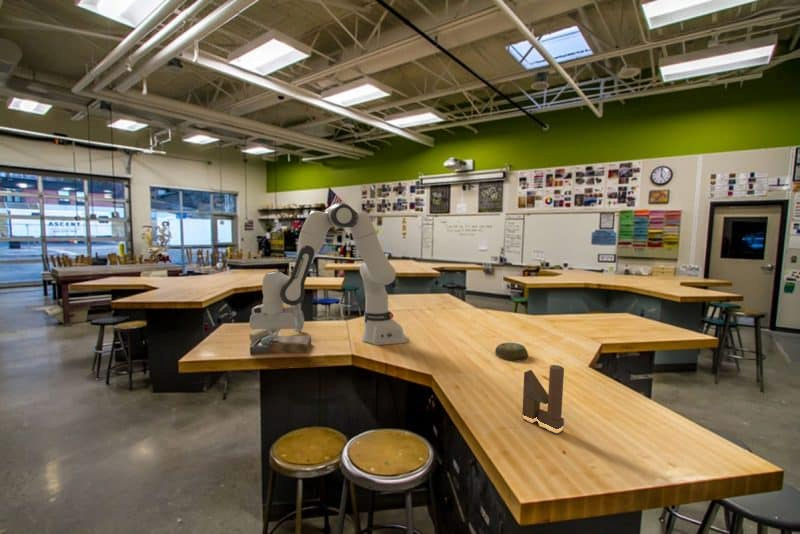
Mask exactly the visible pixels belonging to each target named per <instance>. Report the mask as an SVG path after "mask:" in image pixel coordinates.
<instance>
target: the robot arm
mask: <svg viewBox="0 0 800 534" xmlns="http://www.w3.org/2000/svg"><path fill="white" fill-rule="evenodd" d="M331 228H338V229H340V228H343V229H345V228H348V229H349V231H350V232H351V236H352V239H353V241H354V245H355V248H356V250H357V253H358V255H359V257H361V259H362V260H363V263H362V264H361V265H360V266H359V274H360V276H361V278H362V283H363V289H364V296H365V310H364V315H363V316H364V319H363V320H364V330H363V335H362V339H361V340H362V342H365V343H368V344H372V345H375V346H381V345H382V346H383V345H384V346H385V345H394V344H396V345H397V344H406V343H407V342H408V341H409V339H408V336H407V334H406V333H404V330H403V327H402V325H401V324H400V323H399V322H397V321H396V320H394V319H393V318H394V313H393V312H392V311H389V295H388V292H387V291H386V287H385V286H387V285H390V284H391V283H393V282H394V281H395V279H396V273H397V272H396V269H395V268H394V266H393V265H392V264H391V263H390V261H389V260H388V257H387V256H386V254H385V252H384V251H383V248H382V246H381V244H380V241H379V238H378V235H377V232H376V229H375V226H374V223H373V221H372V220H371V218H370V216H369V215H368V213H367V212H365V211H356V210H355V209H353V207H351V206H350V205H348V203H341V202H337V203H333V204H331V205H329V206H328V207H327V208H326V209H325V210H323V211H320V210H312V211H311V212H310V213H308V215H307V217H306V218H305V220H304V223H303V225H302V226H301V229H300V232H299V236H298V240H297V252H296V260H295V264H294V267H293V269H292V271H291V275H290V276H288V275H286V274H284V273H283V272H282V271H270V272H268V273H266V274H265V275H264V276H263V277H262V291H261V293H262V295H263V296H262V297H263V298H262V304H258V305H256V306H254V307H252V308H251V314H250V316H249V328H250V330H261V329H267V331H268V333H269V334H270V338H277V337H278V336H279V335H278V334H279V332H280V331H281V330H282V329H284V330H287V329H288V330H290V329H291V330H295V328H296V326H297V319H296V317H297V310H296V309H294V308H292V307H285V306H284V304H285V305H287V306H291V305H297V304H299V303H301V304H302V302H303V301H304V299H305V296H306V295H305V294H306V291H305V284H306V283H305V282H306V279H307V277H308V274H309V272H310V271H309V270H310V268H311V265H312V264H313V261H314V259H315V258H317V256H318V254H319V252H320V250H321V249H322V247H323V245H324V243H325V239H326V236H327V234H328V231H329V230H330V229H331ZM272 329H276V331H277V332H275V333H274V334H272V332H271V330H272Z"/></svg>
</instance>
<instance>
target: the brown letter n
mask: <svg viewBox="0 0 800 534" xmlns="http://www.w3.org/2000/svg"><path fill="white" fill-rule="evenodd" d="M564 374H565V368H564V367H563V366H562V365H559V364H551V365H550V366H549V375H548V393H547V391H546V389H545V387H544V386H543V385H542V383H541V382H540V381H539V379H538V378H537V376H536V375H535V373H534V372H533V369H529V370H526V371H524V372H523V391H522V392H523V395H522V396H523V398H522V415H524V416H527V417H529V418H532V419H534V418H536V417H537V419H538V420H539V421H540V422H542V423H544V424H547V425H549V426H551V427H553V428H555V429H559V428H561V427H562V426H564V425H565V424H564V423H565V419H564V418H563V417H562V413H563V412H562V410H563V395H564ZM541 404H543V405H547V410H544V409H542V408H541ZM522 415H521V416H522ZM564 427H565V426H564Z"/></svg>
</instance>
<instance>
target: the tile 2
mask: <svg viewBox="0 0 800 534" xmlns="http://www.w3.org/2000/svg"><path fill="white" fill-rule="evenodd" d="M272 339H273V338H270V335H269V336H267V337H265V338H263V339H262V340H261V341H260V342H261V344H262V345H264V344H266V343H268V342H270V341H271V340H272Z"/></svg>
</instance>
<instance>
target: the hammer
mask: <svg viewBox="0 0 800 534" xmlns="http://www.w3.org/2000/svg"><path fill="white" fill-rule="evenodd" d="M290 308H294V309H296V310H297V317H296V319H297V326H296V327H295V328H294V329H293V332H295V331H296V333H301V332H302V330H303V328H304V326H305V315H304V312H303V310H302V309H301V308H302V302H301V303H299V304H297V305H290ZM271 332H272V334H276V332H277V331H276V329H272V330H271ZM269 335H270V334H269V333H268V331H267V329H258V330H257V331H254V332H251V333H249V335H248V336H249V337H248V338H249V340H250V342H251V343H252V344H254V343H255V342H256V341H257V340H258V339H259V338H265V337H267V336H269Z"/></svg>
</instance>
